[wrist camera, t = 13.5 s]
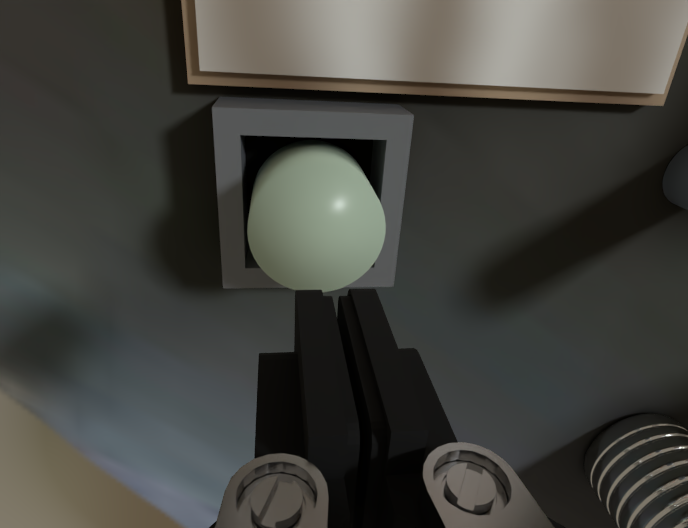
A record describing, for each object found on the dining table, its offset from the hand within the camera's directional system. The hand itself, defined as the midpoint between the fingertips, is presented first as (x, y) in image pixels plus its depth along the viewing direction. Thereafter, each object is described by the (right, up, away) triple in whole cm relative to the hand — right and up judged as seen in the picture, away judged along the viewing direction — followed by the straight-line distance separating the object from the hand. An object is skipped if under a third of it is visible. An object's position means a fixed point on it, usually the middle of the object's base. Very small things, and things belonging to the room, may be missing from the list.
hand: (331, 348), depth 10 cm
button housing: (-1, +5, +10) cm, 11 cm away
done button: (-1, +4, +9) cm, 10 cm away
